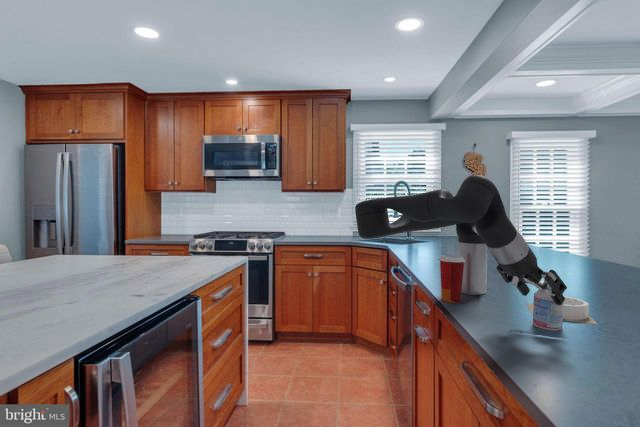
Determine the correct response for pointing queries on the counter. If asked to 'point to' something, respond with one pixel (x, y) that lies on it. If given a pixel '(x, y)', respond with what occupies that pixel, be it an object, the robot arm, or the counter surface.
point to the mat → (588, 320)
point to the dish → (575, 309)
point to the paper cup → (451, 277)
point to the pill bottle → (546, 311)
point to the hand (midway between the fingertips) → (543, 297)
